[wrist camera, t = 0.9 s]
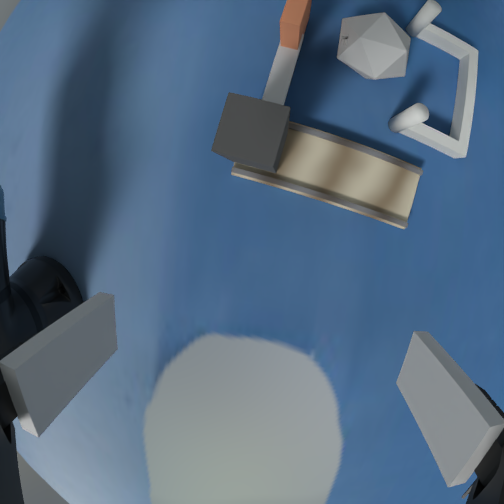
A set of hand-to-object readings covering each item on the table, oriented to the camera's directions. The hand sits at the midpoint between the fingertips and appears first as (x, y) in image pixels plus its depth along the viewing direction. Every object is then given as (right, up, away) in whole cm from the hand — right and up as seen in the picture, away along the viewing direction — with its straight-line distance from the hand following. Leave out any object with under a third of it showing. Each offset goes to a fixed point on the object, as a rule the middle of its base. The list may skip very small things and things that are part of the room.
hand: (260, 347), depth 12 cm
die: (+14, +29, +20) cm, 38 cm away
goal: (+24, +26, +19) cm, 40 cm away
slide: (+9, +14, +23) cm, 28 cm away
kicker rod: (+3, +24, +21) cm, 32 cm away
